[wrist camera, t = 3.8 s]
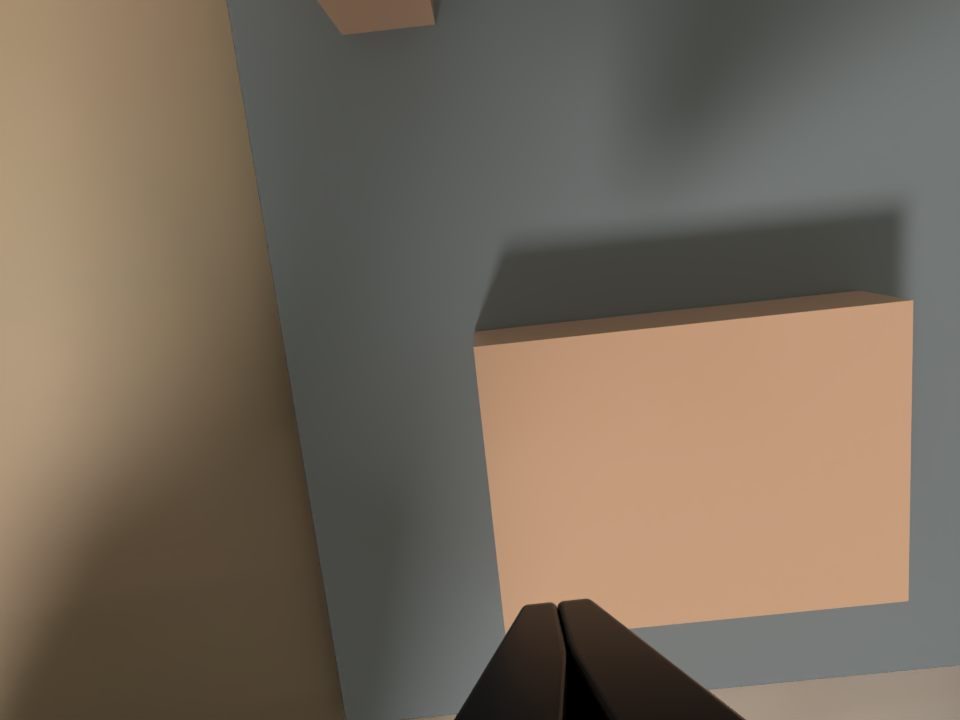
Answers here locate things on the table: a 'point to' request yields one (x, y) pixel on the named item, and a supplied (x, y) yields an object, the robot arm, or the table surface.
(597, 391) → the tile
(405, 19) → the tile
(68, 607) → the table surface
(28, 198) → the table surface
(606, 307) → the slate mat
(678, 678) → the robot arm
